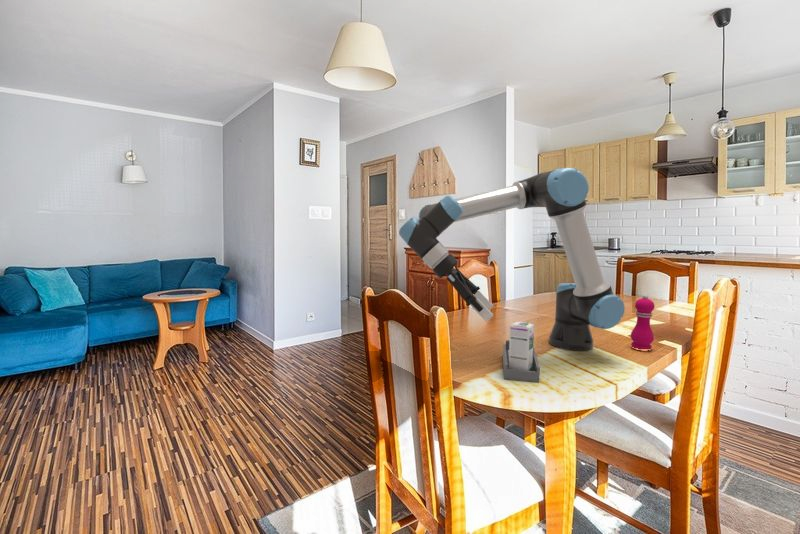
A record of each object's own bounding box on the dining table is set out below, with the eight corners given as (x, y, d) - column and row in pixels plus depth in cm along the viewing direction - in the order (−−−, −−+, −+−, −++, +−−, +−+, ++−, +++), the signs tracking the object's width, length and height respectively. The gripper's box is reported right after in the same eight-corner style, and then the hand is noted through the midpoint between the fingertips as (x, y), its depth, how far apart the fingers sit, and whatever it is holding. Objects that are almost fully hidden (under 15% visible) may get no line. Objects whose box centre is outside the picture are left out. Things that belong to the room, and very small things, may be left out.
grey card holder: (502, 356, 137) (503, 339, 136) (532, 359, 134) (533, 342, 134) (504, 379, 117) (504, 359, 117) (539, 382, 115) (540, 362, 114)
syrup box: (528, 376, 117) (530, 327, 115) (507, 372, 120) (509, 324, 118) (532, 370, 122) (535, 323, 120) (513, 367, 125) (515, 320, 123)
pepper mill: (651, 347, 149) (656, 293, 147) (654, 353, 142) (659, 296, 140) (628, 344, 152) (632, 291, 150) (630, 350, 145) (634, 295, 143)
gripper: (437, 265, 135) (481, 312, 134) (424, 274, 111) (479, 332, 110) (453, 249, 134) (498, 297, 132) (444, 255, 109) (500, 314, 108)
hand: (490, 313), depth 121 cm, fingers open, 13 cm apart
